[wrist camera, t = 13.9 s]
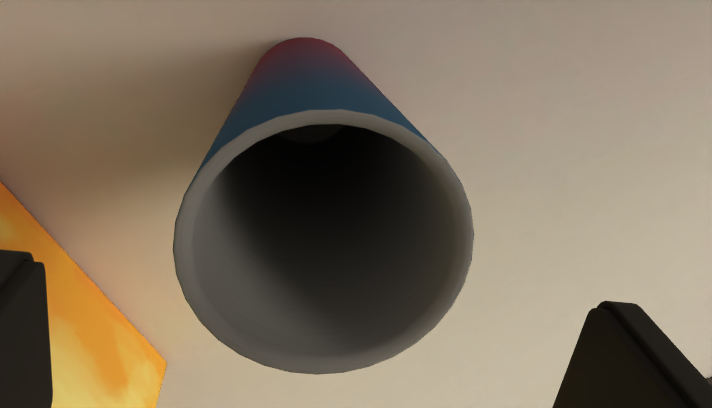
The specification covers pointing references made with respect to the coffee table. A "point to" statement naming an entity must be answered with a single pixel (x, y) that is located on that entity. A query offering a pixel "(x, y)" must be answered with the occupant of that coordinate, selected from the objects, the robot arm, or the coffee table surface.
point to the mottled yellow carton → (83, 327)
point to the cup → (320, 221)
